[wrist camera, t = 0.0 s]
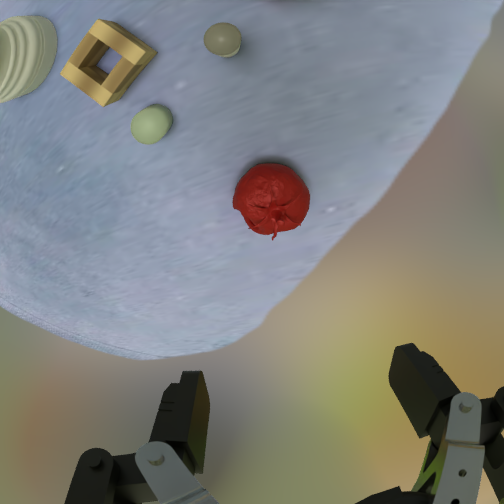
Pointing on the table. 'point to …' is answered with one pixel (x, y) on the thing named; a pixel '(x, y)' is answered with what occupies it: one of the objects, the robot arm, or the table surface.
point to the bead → (151, 124)
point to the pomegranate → (271, 199)
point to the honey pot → (25, 54)
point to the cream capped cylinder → (223, 39)
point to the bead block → (91, 51)
